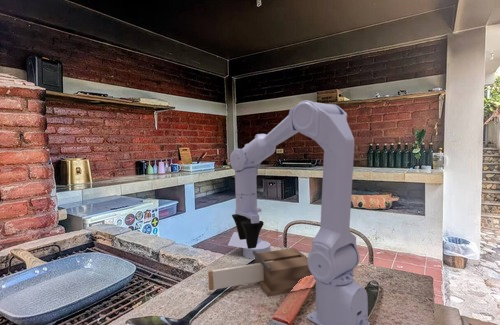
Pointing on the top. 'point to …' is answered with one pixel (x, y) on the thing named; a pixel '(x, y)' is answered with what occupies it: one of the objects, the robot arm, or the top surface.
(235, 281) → the cream wooden plank
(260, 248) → the wedge on round base
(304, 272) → the dispenser
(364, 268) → the top surface
